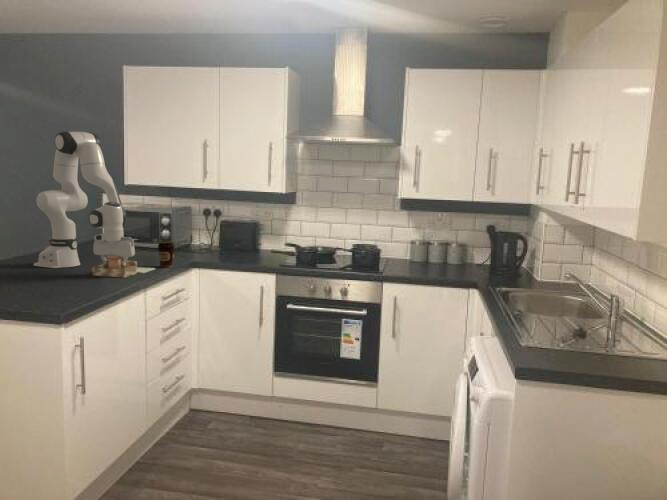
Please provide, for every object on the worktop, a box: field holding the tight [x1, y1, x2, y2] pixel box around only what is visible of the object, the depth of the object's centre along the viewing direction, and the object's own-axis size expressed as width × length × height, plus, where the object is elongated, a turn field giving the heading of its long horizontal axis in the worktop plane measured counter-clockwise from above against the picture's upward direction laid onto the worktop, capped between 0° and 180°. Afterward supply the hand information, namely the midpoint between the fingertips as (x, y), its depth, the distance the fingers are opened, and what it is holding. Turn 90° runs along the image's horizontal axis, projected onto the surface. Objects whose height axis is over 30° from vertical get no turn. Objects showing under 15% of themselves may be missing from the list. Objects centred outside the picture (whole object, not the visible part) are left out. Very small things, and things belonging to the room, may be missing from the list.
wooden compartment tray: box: [91, 259, 138, 278], centre depth 279 cm, size 17×11×6 cm, turn 79°
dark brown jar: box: [157, 241, 176, 268], centre depth 302 cm, size 9×8×13 cm
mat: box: [137, 266, 156, 274], centre depth 291 cm, size 12×12×1 cm
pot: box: [106, 255, 123, 269], centre depth 278 cm, size 6×6×10 cm
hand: (114, 264), depth 278 cm, fingers open, 8 cm apart
